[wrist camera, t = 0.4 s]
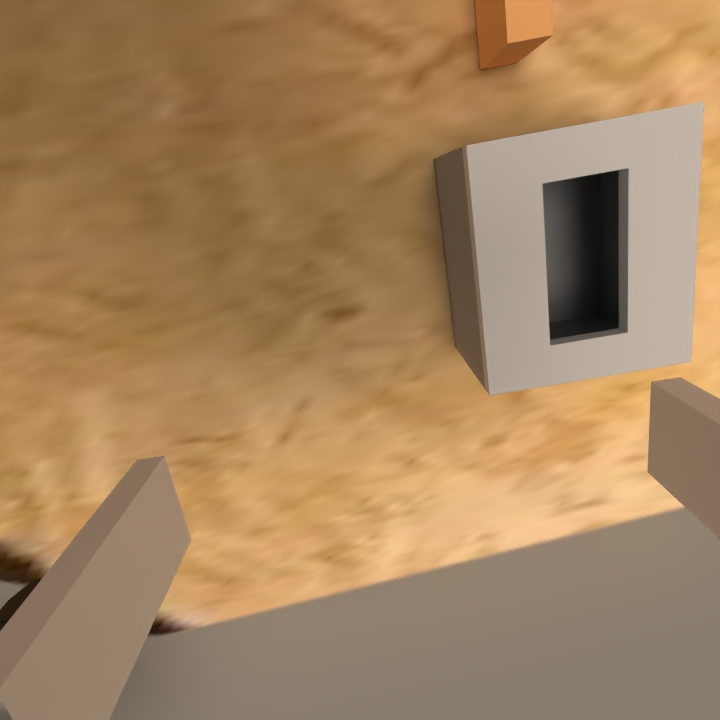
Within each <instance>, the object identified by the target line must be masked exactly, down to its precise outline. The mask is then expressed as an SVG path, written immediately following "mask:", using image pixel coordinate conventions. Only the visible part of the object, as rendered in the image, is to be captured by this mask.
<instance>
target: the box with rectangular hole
mask: <svg viewBox="0 0 720 720" xmlns="http://www.w3.org/2000/svg"><path fill="white" fill-rule="evenodd" d="M703 113H704V102H700V103H695V104H689V105H684V106H679V107H673V108H668V109H662V110H657V111H651V112H646V113H640V114H635V115H629V116H624V117H618V118H613V119H608V120H602V121H597V122H591V123H586V124H580V125H575V126H569V127H564V128H558V129H553V130H547V131H542V132H537V133H531V134H526V135H520V136H515V137H509V138H504V139H498V140H493V141H487V142H482V143H476V144H471V145H466V146H464V147H461V148H459V149H457V150H454V151H452V152H450V153H447V154H445V155H443V156H440V157H438V158H436V159H434V164H435V173H436V181H437V190H438V199H439V208H440V217H441V225H442V234H443V243H444V252H445V261H446V269H447V278H448V287H449V296H450V305H451V313H452V322H453V331H454V340H455V347H456V348H457V350H458V351H459V353H460V354H461V355H462V357H463V358H464V360H465V361H466V363H467V364H468V365H469V367H470V368H471V370H472V371H473V372H474V374H475V375H476V377H477V378H478V380H479V381H480V382H481V384H482V385H483V387H484V388H485V389H486V391H487V392H488V394H489V395H495V394H501V393H507V392H513V391H519V390H525V389H531V388H537V387H544V386H550V385H556V384H562V383H568V382H574V381H580V380H586V379H592V378H598V377H604V376H610V375H616V374H622V373H628V372H634V371H640V370H646V369H652V368H658V367H664V366H670V365H676V364H682V363H689V362H691V355H692V335H693V315H694V295H695V274H696V254H697V234H698V214H699V194H700V174H701V154H702V133H703Z"/></svg>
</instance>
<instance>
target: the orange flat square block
mask: <svg viewBox="0 0 720 720" xmlns="http://www.w3.org/2000/svg"><path fill="white" fill-rule="evenodd" d="M475 12H476V24H477V37H478V49H479V61H480V70H482V69H487V68H493V67H498V66H503V65H508V64H514V63H518V62H519V61H520V60H522V59H523V58H524V57H525V56H527V55H528V54H529V53H531V52H532V51H533V50H534V49H536V48H537V47H538V46H539V45H541V44H542V43H543V42H544V41H546V40H547V39H548V38H550V37H551V36H552V35H553V26H552V0H475Z"/></svg>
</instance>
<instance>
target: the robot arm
mask: <svg viewBox="0 0 720 720" xmlns="http://www.w3.org/2000/svg"><path fill="white" fill-rule="evenodd" d="M648 473H649V474H650V475H651V476H652V477H654V478H655V479H656V480H657V481H658V482H659V483H660V484H661V485H662V486H663V487H664V488H665V489H666V490H668V491H669V492H670V493H671V494H672V495H673V496H674V497H675V498H676V499H677V500H678V501H679V502H681V503H682V504H683V505H684V506H685V507H686V508H687V509H688V510H689V511H690V512H691V513H692V514H693V515H695V516H696V517H697V518H698V519H699V520H700V521H701V522H702V523H703V524H704V525H705V526H706V527H708V528H709V529H710V530H711V531H712V532H713V533H714V534H715V535H716V536H717V537H718V538H719V539H720V399H719V398H717V397H715V396H713V395H712V394H710V393H708V392H706V391H704V390H703V389H701V388H699V387H697V386H695V385H693V384H692V383H690V382H688V381H686V380H684V379H683V378H681V377H679V378H673V379H666V380H660V381H653V382H651V398H650V424H649V450H648ZM190 541H191V537H190V534H189V530H188V527H187V524H186V521H185V518H184V515H183V512H182V509H181V506H180V503H179V500H178V497H177V494H176V490H175V487H174V484H173V481H172V478H171V475H170V472H169V469H168V466H167V463H166V460H165V457H164V456H160V457H154V458H147V459H141V460H136V462H135V463H134V464H133V465H132V467H131V468H130V469H129V470H128V472H127V473H126V474H125V475H124V477H123V478H122V479H121V480H120V482H119V483H118V484H117V485H116V487H115V488H114V489H113V490H112V492H111V493H110V494H109V495H108V497H107V498H106V499H105V500H104V502H103V503H102V504H101V506H100V507H99V508H98V509H97V511H96V512H95V513H94V514H93V516H92V517H91V518H90V519H89V521H88V522H87V523H86V524H85V526H84V527H83V528H82V529H81V531H80V532H79V533H78V534H77V536H76V537H75V538H74V539H73V541H72V542H71V543H70V544H69V546H68V547H67V548H66V549H65V551H64V552H63V553H62V554H61V556H60V557H59V558H58V559H57V561H56V562H55V563H54V564H53V566H52V567H51V568H50V569H49V571H48V572H47V573H46V574H45V576H44V577H43V578H42V579H37V580H33V581H32V582H31V583H29V584H28V585H27V586H26V587H24V588H23V589H22V590H21V591H19V592H18V593H17V594H16V595H14V596H13V597H12V598H11V599H10V600H8V601H7V603H6V604H5V605H4V606H3V607H2V609H1V610H0V720H109V718H110V716H111V714H112V712H113V710H114V707H115V705H116V703H117V701H118V699H119V696H120V694H121V692H122V690H123V687H124V686H125V683H126V681H127V679H128V677H129V674H130V672H131V670H132V668H133V666H134V664H135V661H136V659H137V657H138V655H139V652H140V650H141V648H142V646H143V644H144V642H145V640H146V637H147V635H148V633H149V631H150V629H151V626H152V624H153V622H154V620H155V618H156V615H157V613H158V611H159V609H160V607H161V604H162V602H163V600H164V598H165V596H166V593H167V591H168V589H169V587H170V585H171V583H172V580H173V578H174V576H175V574H176V572H177V569H178V567H179V565H180V563H181V561H182V558H183V556H184V554H185V552H186V550H187V547H188V545H189V543H190Z"/></svg>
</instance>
